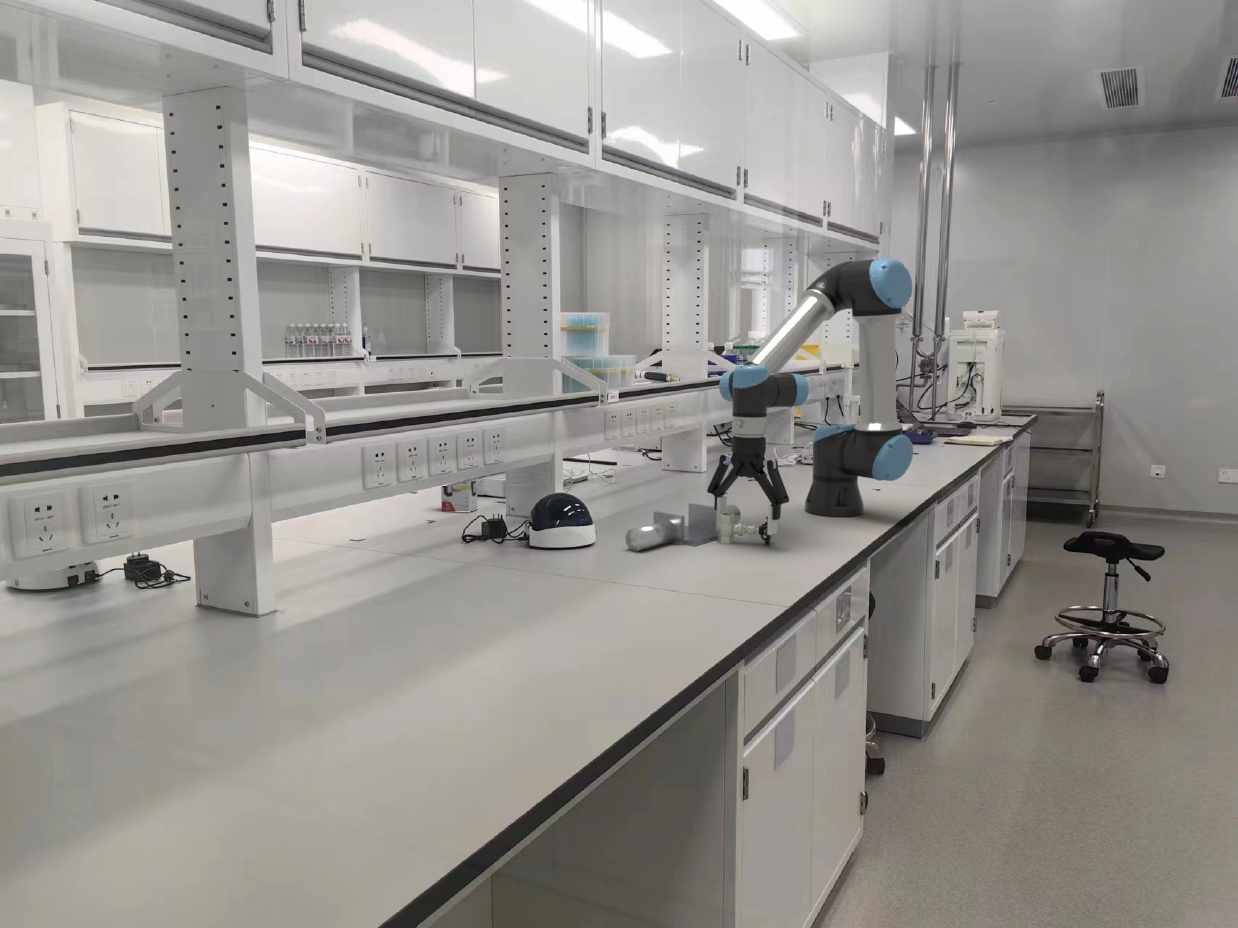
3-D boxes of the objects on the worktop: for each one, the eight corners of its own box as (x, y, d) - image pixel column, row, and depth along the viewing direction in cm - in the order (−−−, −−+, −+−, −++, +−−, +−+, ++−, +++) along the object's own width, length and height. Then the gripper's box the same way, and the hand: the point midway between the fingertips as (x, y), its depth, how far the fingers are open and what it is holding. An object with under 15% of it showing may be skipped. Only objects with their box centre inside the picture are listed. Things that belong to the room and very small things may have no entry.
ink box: (440, 511, 234) (439, 467, 232) (449, 508, 239) (448, 465, 237) (469, 513, 232) (468, 469, 230) (478, 509, 236) (477, 466, 235)
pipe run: (709, 520, 223) (709, 495, 222) (755, 528, 214) (756, 502, 213) (610, 546, 196) (610, 517, 195) (659, 556, 186) (659, 526, 186)
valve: (714, 545, 197) (768, 548, 194) (715, 516, 196) (769, 519, 193) (719, 538, 204) (771, 541, 201) (719, 510, 203) (772, 513, 200)
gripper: (693, 432, 200) (691, 523, 203) (789, 441, 184) (785, 540, 187) (712, 430, 206) (710, 519, 209) (807, 438, 190) (803, 535, 192)
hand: (746, 529), depth 198 cm, fingers open, 13 cm apart
